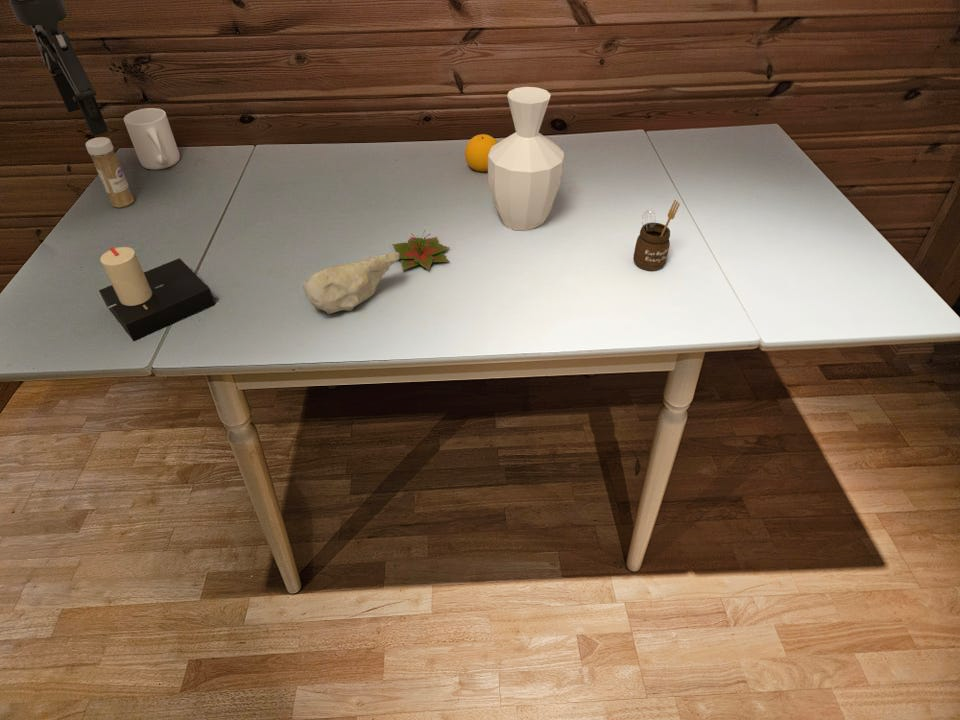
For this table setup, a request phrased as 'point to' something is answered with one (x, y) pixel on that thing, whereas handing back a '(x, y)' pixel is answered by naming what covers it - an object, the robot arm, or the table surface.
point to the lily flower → (420, 252)
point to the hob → (161, 300)
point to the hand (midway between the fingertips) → (87, 121)
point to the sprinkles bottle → (110, 171)
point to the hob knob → (126, 276)
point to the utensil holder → (653, 243)
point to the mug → (152, 138)
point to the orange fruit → (479, 151)
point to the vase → (525, 164)
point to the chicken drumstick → (347, 283)
